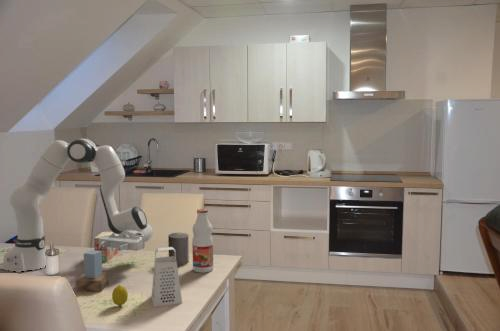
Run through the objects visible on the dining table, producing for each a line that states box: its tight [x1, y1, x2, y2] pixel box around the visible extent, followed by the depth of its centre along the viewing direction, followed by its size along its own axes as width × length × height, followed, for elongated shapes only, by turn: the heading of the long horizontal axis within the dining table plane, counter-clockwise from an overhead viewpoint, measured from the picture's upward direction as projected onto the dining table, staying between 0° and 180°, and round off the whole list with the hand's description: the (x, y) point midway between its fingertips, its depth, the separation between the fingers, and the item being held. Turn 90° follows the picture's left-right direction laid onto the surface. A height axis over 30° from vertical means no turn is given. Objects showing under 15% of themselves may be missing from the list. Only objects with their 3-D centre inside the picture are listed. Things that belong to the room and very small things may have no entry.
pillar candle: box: [167, 232, 190, 267], centre depth 225 cm, size 10×10×15 cm
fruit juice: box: [191, 208, 214, 274], centre depth 213 cm, size 9×9×28 cm
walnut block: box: [75, 271, 110, 293], centre depth 193 cm, size 10×10×5 cm
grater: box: [151, 246, 183, 307], centre depth 178 cm, size 10×10×20 cm
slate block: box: [83, 249, 103, 278], centre depth 193 cm, size 5×5×10 cm
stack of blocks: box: [93, 231, 121, 263], centre depth 237 cm, size 21×6×12 cm, turn 178°
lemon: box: [111, 284, 129, 307], centre depth 173 cm, size 6×6×8 cm
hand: (109, 247), depth 203 cm, fingers open, 8 cm apart
